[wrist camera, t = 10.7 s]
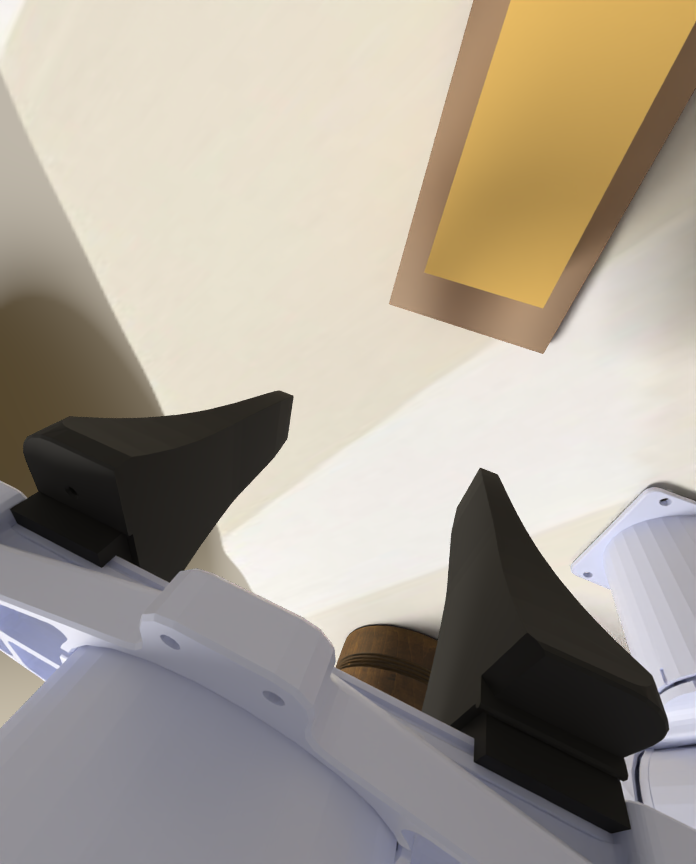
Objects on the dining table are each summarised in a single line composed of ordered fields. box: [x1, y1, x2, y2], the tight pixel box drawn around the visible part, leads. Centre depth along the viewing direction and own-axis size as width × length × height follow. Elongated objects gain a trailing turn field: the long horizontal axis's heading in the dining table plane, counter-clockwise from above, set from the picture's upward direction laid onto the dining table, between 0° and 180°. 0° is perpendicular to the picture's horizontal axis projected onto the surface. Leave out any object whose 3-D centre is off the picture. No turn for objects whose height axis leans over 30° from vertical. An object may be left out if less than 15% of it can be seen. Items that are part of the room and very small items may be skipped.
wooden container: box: [336, 625, 438, 711], centre depth 28 cm, size 15×15×22 cm
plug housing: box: [424, 0, 696, 308], centre depth 12 cm, size 4×9×4 cm, turn 167°
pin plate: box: [389, 0, 696, 354], centre depth 13 cm, size 8×14×4 cm, turn 167°
